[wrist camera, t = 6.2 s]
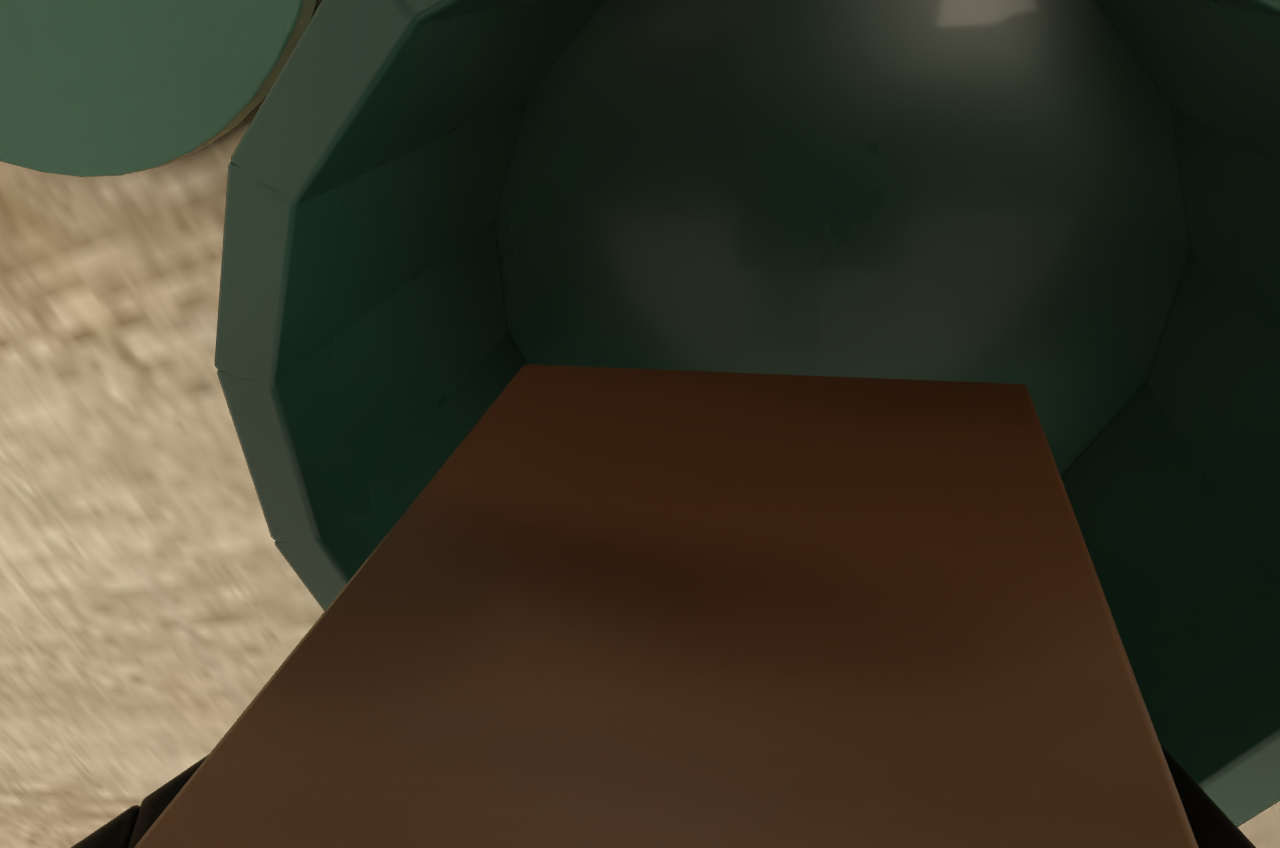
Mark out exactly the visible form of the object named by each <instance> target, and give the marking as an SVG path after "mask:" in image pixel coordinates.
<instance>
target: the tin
mask: <svg viewBox="0 0 1280 848" xmlns="http://www.w3.org/2000/svg"><path fill="white" fill-rule="evenodd" d="M231 160H232V161H231V162H230V164H229V166H228V179H227V193H226V207H225V222H224V236H223V251H222V265H221V280H220V294H219V308H218V323H217V337H216V352H215V367H216V368H217V369H218V373H217V374H218V377H219V380H220V383H221V386H222V389H223V392H224V396H225V399H226V402H227V405H228V408H229V411H230V414H231V417H232V420H233V423H234V426H235V429H236V432H237V435H238V438H239V441H240V444H241V447H242V450H243V453H244V456H245V459H246V462H247V465H248V468H249V471H250V474H251V477H252V480H253V483H254V486H255V489H256V492H257V495H258V498H259V501H260V504H261V507H262V510H263V513H264V516H265V519H266V522H267V525H268V528H269V531H270V534H271V537H272V538H273V539H274V540H275V545H276V547H277V548H278V549H279V551H280V552H281V553H282V555H283V556H284V558H285V559H286V560H287V562H288V563H289V564H290V566H291V567H292V568H293V570H294V571H295V572H296V574H297V575H298V576H299V578H300V579H301V580H302V582H303V583H304V584H305V586H306V587H307V588H308V590H309V591H310V592H311V594H312V595H313V597H314V598H315V599H316V601H317V602H318V603H319V605H320V606H321V607H322V609H323V610H324V611H325V610H326V609H327V608H328V607H329V605H330V604H331V603H332V602H333V601H334V599H335V598H336V597H337V596H338V594H339V593H340V592H341V591H342V589H343V588H344V587H345V586H346V584H347V583H348V582H349V581H350V579H351V578H352V577H353V576H354V575H355V573H356V572H357V571H358V570H359V568H360V567H361V566H362V565H363V563H364V562H365V561H366V560H367V558H368V557H369V556H370V555H371V553H372V552H373V551H374V550H375V548H376V547H377V546H378V545H379V544H380V542H381V541H382V540H383V539H384V537H385V536H386V535H387V534H388V532H389V531H390V530H391V529H392V527H393V526H394V525H395V524H396V522H397V521H398V520H399V519H400V518H401V516H402V515H403V514H404V513H405V511H406V510H407V509H408V508H409V506H410V505H411V504H412V503H413V501H414V500H415V499H416V498H417V496H418V495H419V494H420V493H421V492H422V490H423V489H424V488H425V487H426V485H427V484H428V483H429V482H430V480H431V479H432V478H433V477H434V475H435V474H436V473H437V472H438V470H439V469H440V468H441V467H442V465H443V464H444V463H445V462H446V461H447V459H448V458H449V457H450V456H451V454H452V453H453V452H454V451H455V449H456V448H457V447H458V446H459V444H460V443H461V442H462V441H463V439H464V438H465V437H466V436H467V435H468V433H469V432H470V431H471V430H472V428H473V427H474V426H475V425H476V423H477V422H478V421H479V420H480V418H481V417H482V416H483V415H484V413H485V412H486V411H487V410H488V409H489V407H490V406H491V405H492V404H493V402H494V401H495V400H496V399H497V397H498V396H499V395H500V394H501V392H502V391H503V390H504V389H505V387H506V386H507V385H508V384H509V383H510V381H511V380H512V379H513V378H514V376H515V375H516V374H517V373H518V371H519V370H520V369H521V368H522V366H525V365H528V364H533V365H558V366H584V367H609V368H634V369H659V370H685V371H710V372H735V373H760V374H785V375H811V376H836V377H861V378H886V379H912V380H937V381H962V382H987V383H1013V384H1022V385H1025V386H1027V387H1028V390H1029V393H1030V395H1031V398H1032V401H1033V404H1034V406H1035V409H1036V412H1037V414H1038V417H1039V420H1040V422H1041V425H1042V428H1043V430H1044V433H1045V436H1046V439H1047V441H1048V444H1049V447H1050V449H1051V452H1052V455H1053V457H1054V460H1055V463H1056V465H1057V468H1058V471H1059V474H1060V476H1061V479H1062V482H1063V484H1064V487H1065V490H1066V492H1067V495H1068V498H1069V500H1070V503H1071V506H1072V509H1073V511H1074V514H1075V517H1076V519H1077V522H1078V525H1079V527H1080V530H1081V533H1082V535H1083V538H1084V541H1085V544H1086V546H1087V549H1088V552H1089V554H1090V557H1091V560H1092V562H1093V565H1094V568H1095V571H1096V573H1097V576H1098V579H1099V581H1100V584H1101V587H1102V589H1103V592H1104V595H1105V597H1106V600H1107V603H1108V606H1109V608H1110V611H1111V614H1112V616H1113V619H1114V622H1115V624H1116V627H1117V630H1118V632H1119V635H1120V638H1121V641H1122V643H1123V646H1124V649H1125V651H1126V654H1127V657H1128V659H1129V662H1130V665H1131V667H1132V670H1133V673H1134V676H1135V678H1136V681H1137V684H1138V686H1139V689H1140V692H1141V694H1142V697H1143V700H1144V702H1145V705H1146V708H1147V711H1148V713H1149V716H1150V719H1151V721H1152V724H1153V727H1154V729H1155V732H1156V735H1157V737H1158V740H1159V742H1160V744H1161V745H1162V746H1163V747H1164V748H1165V749H1166V750H1167V751H1168V752H1169V753H1170V754H1171V756H1172V757H1173V758H1174V759H1175V760H1176V761H1177V762H1178V763H1179V764H1180V765H1181V766H1182V768H1183V769H1184V770H1185V771H1186V772H1187V773H1188V774H1189V775H1190V776H1191V777H1192V778H1193V780H1194V781H1195V782H1196V783H1197V784H1198V785H1199V786H1200V787H1201V788H1202V789H1203V790H1204V792H1205V793H1206V794H1207V795H1208V796H1209V797H1210V798H1211V799H1212V800H1213V801H1214V802H1215V804H1216V805H1217V806H1218V807H1219V808H1220V809H1221V810H1222V811H1223V812H1224V813H1225V814H1226V816H1227V817H1228V818H1229V819H1230V820H1231V821H1232V822H1233V823H1234V824H1235V825H1236V827H1238V826H1240V825H1242V824H1243V823H1245V822H1246V821H1248V820H1250V819H1251V818H1253V817H1254V816H1256V815H1258V814H1259V813H1261V812H1262V811H1264V810H1266V809H1267V808H1269V807H1271V806H1272V805H1274V804H1275V803H1277V802H1279V801H1280V0H322V1H321V3H320V4H319V6H318V8H317V10H316V11H315V13H314V15H313V16H312V18H311V20H310V22H309V23H308V25H307V27H306V29H305V30H304V32H303V34H302V35H301V37H300V39H299V41H298V42H297V44H296V46H295V48H294V49H293V51H292V53H291V54H290V56H289V58H288V60H287V61H286V63H285V65H284V67H283V68H282V70H281V72H280V73H279V75H278V77H277V79H276V80H275V82H274V84H273V86H272V87H271V89H270V91H269V92H268V94H267V96H266V98H265V99H264V101H263V103H262V105H261V106H260V108H259V110H258V112H257V113H256V115H255V117H254V118H253V120H252V122H251V124H250V125H249V127H248V129H247V131H246V132H245V134H244V136H243V137H242V139H241V141H240V143H239V144H238V146H237V148H236V150H235V151H234V153H233V155H232V156H231Z"/></svg>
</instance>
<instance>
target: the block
mask: <svg viewBox="0 0 1280 848" xmlns="http://www.w3.org/2000/svg"><path fill="white" fill-rule="evenodd" d="M134 848H1198V845H1197V843H1196V840H1195V837H1194V834H1193V832H1192V829H1191V826H1190V824H1189V821H1188V818H1187V816H1186V813H1185V810H1184V807H1183V805H1182V802H1181V799H1180V797H1179V794H1178V791H1177V789H1176V786H1175V783H1174V781H1173V778H1172V775H1171V772H1170V770H1169V767H1168V764H1167V762H1166V759H1165V756H1164V754H1163V751H1162V748H1161V746H1160V743H1159V740H1158V737H1157V735H1156V732H1155V729H1154V727H1153V724H1152V721H1151V719H1150V716H1149V713H1148V711H1147V708H1146V705H1145V702H1144V700H1143V697H1142V694H1141V692H1140V689H1139V686H1138V684H1137V681H1136V678H1135V676H1134V673H1133V670H1132V667H1131V665H1130V662H1129V659H1128V657H1127V654H1126V651H1125V649H1124V646H1123V643H1122V641H1121V638H1120V635H1119V632H1118V630H1117V627H1116V624H1115V622H1114V619H1113V616H1112V614H1111V611H1110V608H1109V606H1108V603H1107V600H1106V597H1105V595H1104V592H1103V589H1102V587H1101V584H1100V581H1099V579H1098V576H1097V573H1096V571H1095V568H1094V565H1093V562H1092V560H1091V557H1090V554H1089V552H1088V549H1087V546H1086V544H1085V541H1084V538H1083V535H1082V533H1081V530H1080V527H1079V525H1078V522H1077V519H1076V517H1075V514H1074V511H1073V509H1072V506H1071V503H1070V500H1069V498H1068V495H1067V492H1066V490H1065V487H1064V484H1063V482H1062V479H1061V476H1060V474H1059V471H1058V468H1057V465H1056V463H1055V460H1054V457H1053V455H1052V452H1051V449H1050V447H1049V444H1048V441H1047V439H1046V436H1045V433H1044V430H1043V428H1042V425H1041V422H1040V420H1039V417H1038V414H1037V412H1036V409H1035V406H1034V404H1033V401H1032V398H1031V395H1030V393H1029V390H1028V387H1027V386H1025V385H1022V384H1013V383H987V382H962V381H937V380H912V379H886V378H861V377H836V376H811V375H785V374H760V373H735V372H710V371H685V370H659V369H634V368H609V367H584V366H558V365H533V364H528V365H525V366H522V368H521V369H520V370H519V371H518V373H517V374H516V375H515V376H514V378H513V379H512V380H511V381H510V383H509V384H508V385H507V386H506V387H505V389H504V390H503V391H502V392H501V394H500V395H499V396H498V397H497V399H496V400H495V401H494V402H493V404H492V405H491V406H490V407H489V409H488V410H487V411H486V412H485V413H484V415H483V416H482V417H481V418H480V420H479V421H478V422H477V423H476V425H475V426H474V427H473V428H472V430H471V431H470V432H469V433H468V435H467V436H466V437H465V438H464V439H463V441H462V442H461V443H460V444H459V446H458V447H457V448H456V449H455V451H454V452H453V453H452V454H451V456H450V457H449V458H448V459H447V461H446V462H445V463H444V464H443V465H442V467H441V468H440V469H439V470H438V472H437V473H436V474H435V475H434V477H433V478H432V479H431V480H430V482H429V483H428V484H427V485H426V487H425V488H424V489H423V490H422V492H421V493H420V494H419V495H418V496H417V498H416V499H415V500H414V501H413V503H412V504H411V505H410V506H409V508H408V509H407V510H406V511H405V513H404V514H403V515H402V516H401V518H400V519H399V520H398V521H397V522H396V524H395V525H394V526H393V527H392V529H391V530H390V531H389V532H388V534H387V535H386V536H385V537H384V539H383V540H382V541H381V542H380V544H379V545H378V546H377V547H376V548H375V550H374V551H373V552H372V553H371V555H370V556H369V557H368V558H367V560H366V561H365V562H364V563H363V565H362V566H361V567H360V568H359V570H358V571H357V572H356V573H355V575H354V576H353V577H352V578H351V579H350V581H349V582H348V583H347V584H346V586H345V587H344V588H343V589H342V591H341V592H340V593H339V594H338V596H337V597H336V598H335V599H334V601H333V602H332V603H331V604H330V605H329V607H328V608H327V609H326V610H325V612H324V613H323V614H322V615H321V617H320V618H319V619H318V620H317V622H316V623H315V624H314V625H313V627H312V628H311V629H310V630H309V631H308V633H307V634H306V635H305V636H304V638H303V639H302V640H301V641H300V643H299V644H298V645H297V646H296V648H295V649H294V650H293V651H292V653H291V654H290V655H289V656H288V657H287V659H286V660H285V661H284V662H283V664H282V665H281V666H280V667H279V669H278V670H277V671H276V672H275V674H274V675H273V676H272V677H271V679H270V680H269V681H268V682H267V684H266V685H265V686H264V687H263V688H262V690H261V691H260V692H259V693H258V695H257V696H256V697H255V698H254V700H253V701H252V702H251V703H250V705H249V706H248V707H247V708H246V710H245V711H244V712H243V713H242V714H241V716H240V717H239V718H238V719H237V721H236V722H235V723H234V724H233V726H232V727H231V728H230V729H229V731H228V732H227V733H226V734H225V736H224V737H223V738H222V739H221V740H220V742H219V743H218V744H217V745H216V747H215V748H214V749H213V750H212V752H211V753H210V754H209V755H208V757H207V758H206V759H205V760H204V762H203V763H202V764H201V765H200V767H199V768H198V769H197V770H196V771H195V773H194V774H193V775H192V776H191V778H190V779H189V780H188V781H187V783H186V784H185V785H184V786H183V788H182V789H181V790H180V791H179V793H178V794H177V795H176V796H175V797H174V799H173V800H172V801H171V802H170V804H169V805H168V806H167V807H166V809H165V810H164V811H163V812H162V814H161V815H160V816H159V817H158V819H157V820H156V821H155V822H154V823H153V825H152V826H151V827H150V828H149V830H148V831H147V832H146V833H145V835H144V836H143V837H142V838H141V840H140V841H139V842H138V843H137V845H136V846H135V847H134Z"/></svg>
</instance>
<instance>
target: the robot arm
mask: <svg viewBox="0 0 1280 848" xmlns="http://www.w3.org/2000/svg"><path fill="white" fill-rule="evenodd" d="M1159 743H1160V742H1159ZM1160 746H1161V748H1162V751H1163V754H1164V756H1165V759H1166V762H1167V764H1168V767H1169V770H1170V772H1171V775H1172V778H1173V781H1174V783H1175V786H1176V789H1177V791H1178V794H1179V797H1180V799H1181V802H1182V805H1183V807H1184V810H1185V813H1186V816H1187V818H1188V821H1189V824H1190V826H1191V829H1192V832H1193V834H1194V837H1195V840H1196V843H1197V845H1198V848H1256V847H1255V846H1254V845H1253V844H1252V843H1251V842H1250V841H1249V840H1248V839H1247V837H1246V836H1245V835H1244V834H1243V833H1242V832H1241V831H1240V830H1239V829H1238V828H1237V827H1236V825H1235V824H1234V823H1233V822H1232V821H1231V820H1230V819H1229V818H1228V817H1227V816H1226V814H1225V813H1224V812H1223V811H1222V810H1221V809H1220V808H1219V807H1218V806H1217V805H1216V804H1215V802H1214V801H1213V800H1212V799H1211V798H1210V797H1209V796H1208V795H1207V794H1206V793H1205V792H1204V790H1203V789H1202V788H1201V787H1200V786H1199V785H1198V784H1197V783H1196V782H1195V781H1194V780H1193V778H1192V777H1191V776H1190V775H1189V774H1188V773H1187V772H1186V771H1185V770H1184V769H1183V768H1182V766H1181V765H1180V764H1179V763H1178V762H1177V761H1176V760H1175V759H1174V758H1173V757H1172V756H1171V754H1170V753H1169V752H1168V751H1167V750H1166V749H1165V748H1164V747H1163V746H1162V745H1161V744H1160ZM207 757H208V755H207V756H206V757H204V758H203V759H202V760H200V761H199V762H197V763H196V764H194V765H193V766H191V767H190V768H188V769H187V770H185V771H184V772H182V773H181V774H179V775H178V776H177V777H175V778H174V779H172V780H171V781H169V782H168V783H166V784H165V785H163V786H162V787H160V788H159V789H157V790H156V791H154V792H153V793H151V794H150V795H149V796H147V797H146V798H145V799H144V800H143V801H142V804H141V807H140V806H138V805H135V806H132V807H130V808H129V809H127V810H126V811H125V812H123V813H122V814H120V815H119V816H117V817H116V818H114V819H113V820H111V821H110V822H108V823H107V824H105V825H104V826H102V827H101V828H99V829H98V830H97V831H95V832H94V833H92V834H91V835H89V836H88V837H86V838H85V839H83V840H82V841H80V842H79V843H77V844H76V845H74V846H72V847H71V848H134V847H135V846H136V845H137V843H138V842H139V841H140V840H141V838H142V837H143V836H144V835H145V833H146V832H147V831H148V830H149V828H150V827H151V826H152V825H153V823H154V822H155V821H156V820H157V819H158V817H159V816H160V815H161V814H162V812H163V811H164V810H165V809H166V807H167V806H168V805H169V804H170V802H171V801H172V800H173V799H174V797H175V796H176V795H177V794H178V793H179V791H180V790H181V789H182V788H183V786H184V785H185V784H186V783H187V781H188V780H189V779H190V778H191V776H192V775H193V774H194V773H195V771H196V770H197V769H198V768H199V767H200V765H201V764H202V763H203V762H204V760H205V759H206V758H207Z"/></svg>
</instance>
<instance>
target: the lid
mask: <svg viewBox="0 0 1280 848" xmlns="http://www.w3.org/2000/svg"><path fill="white" fill-rule="evenodd" d="M316 2H317V0H0V161H2V162H6V163H10V164H13V165H17V166H21V167H25V168H29V169H32V170H36V171H40V172H46V173H54V174H62V175H71V176H79V177H93V176H118V175H125V174H129V173H134V172H138V171H143V170H147V169H152V168H156V167H160V166H163V165H166V164H169V163H172V162H174V161H176V160H179V159H181V158H183V157H186V156H188V155H190V154H192V153H195V152H197V151H199V150H202V149H204V148H206V147H207V146H209V145H210V144H211V143H213V142H214V141H216V140H217V139H219V138H220V137H222V136H223V135H225V134H226V133H228V132H229V131H231V130H232V129H233V128H235V127H236V126H237V125H238V124H239V123H240V122H241V121H242V120H243V119H244V118H245V117H246V116H247V115H248V114H249V113H250V112H251V111H252V110H253V109H254V108H255V107H256V106H257V105H258V104H259V103H260V102H261V101H262V100H263V99H264V98H265V97H266V95H267V94H268V92H269V91H270V89H271V87H272V86H273V84H274V82H275V80H276V79H277V77H278V75H279V73H280V72H281V70H282V68H283V67H284V65H285V63H286V61H287V60H288V58H289V56H290V54H291V53H292V51H293V49H294V48H295V46H296V44H297V42H298V41H299V39H300V37H301V35H302V34H303V32H304V30H305V29H306V27H307V25H308V23H309V21H310V19H311V17H312V14H313V11H314V8H315V5H316Z"/></svg>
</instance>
